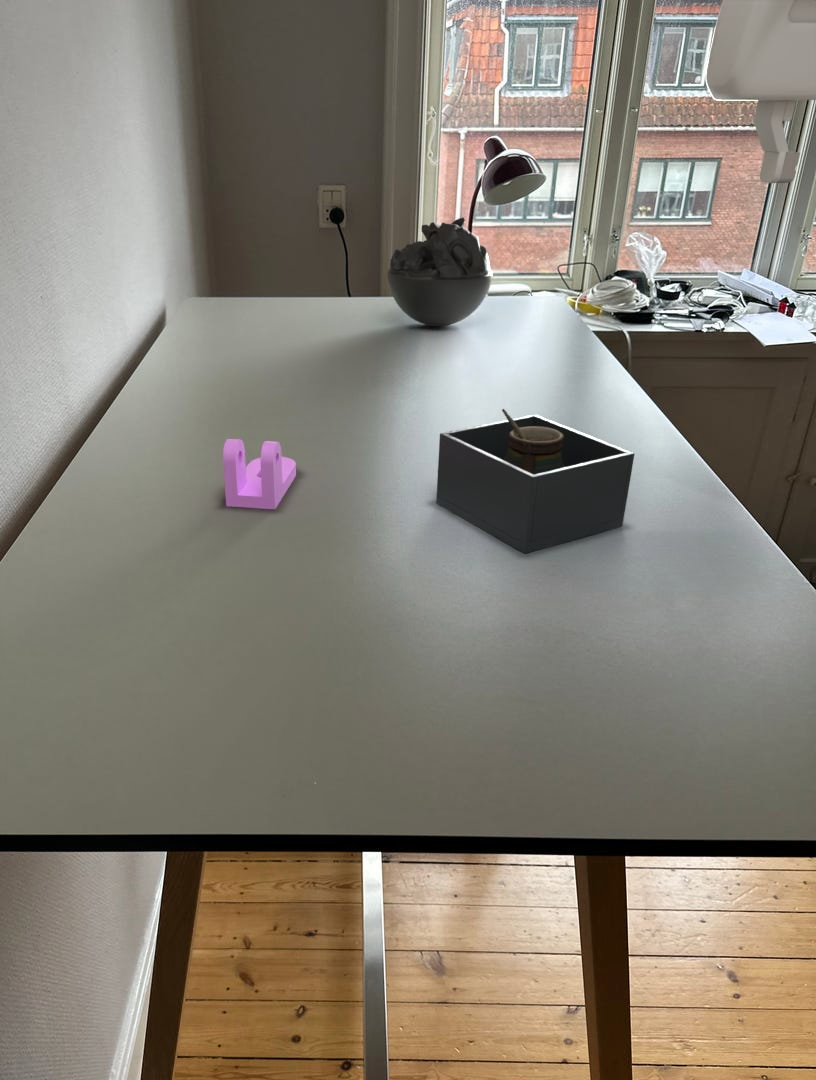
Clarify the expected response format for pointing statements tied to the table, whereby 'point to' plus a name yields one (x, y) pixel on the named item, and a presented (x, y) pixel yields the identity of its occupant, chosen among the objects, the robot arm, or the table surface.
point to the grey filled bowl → (441, 275)
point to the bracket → (256, 476)
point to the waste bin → (533, 485)
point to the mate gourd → (534, 448)
